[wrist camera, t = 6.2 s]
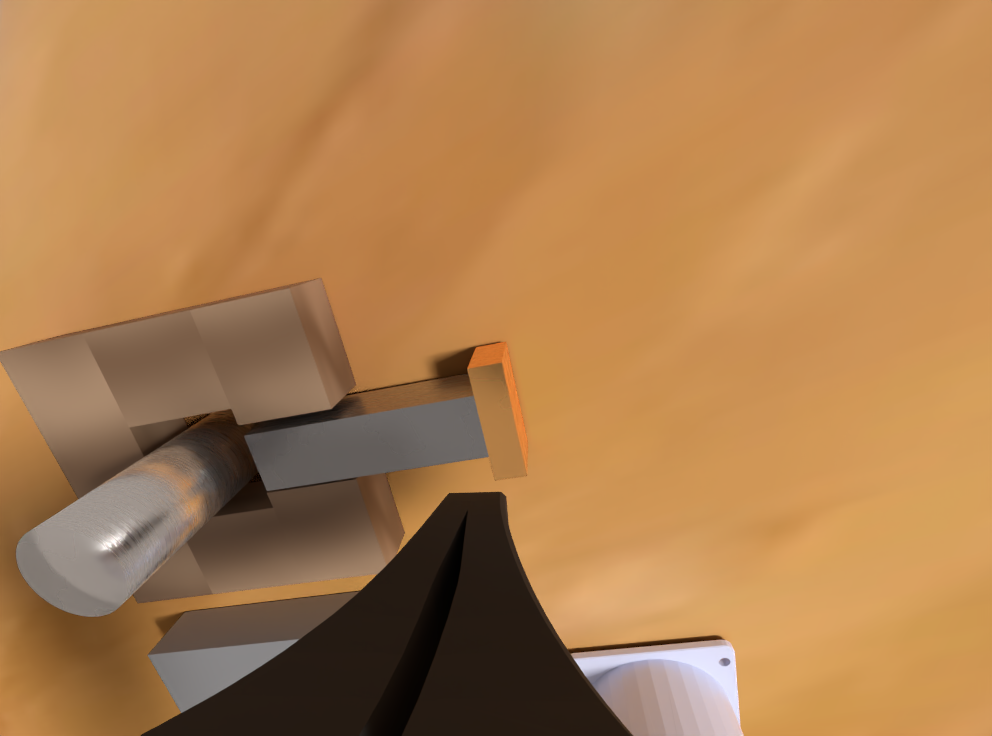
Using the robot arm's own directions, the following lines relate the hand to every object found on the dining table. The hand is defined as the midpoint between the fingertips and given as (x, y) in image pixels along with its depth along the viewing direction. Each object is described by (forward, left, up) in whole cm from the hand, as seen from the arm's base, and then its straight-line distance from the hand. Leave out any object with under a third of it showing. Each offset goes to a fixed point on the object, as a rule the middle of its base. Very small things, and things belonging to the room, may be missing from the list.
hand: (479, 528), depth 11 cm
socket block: (0, +12, -9) cm, 15 cm away
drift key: (0, +4, -9) cm, 10 cm away
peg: (0, +12, -9) cm, 15 cm away
